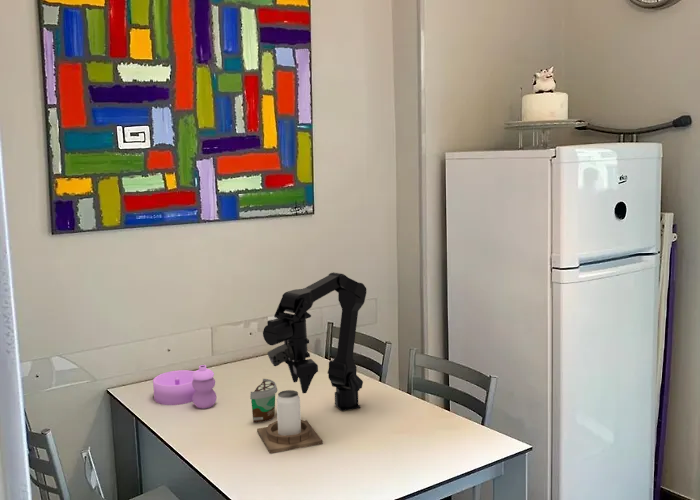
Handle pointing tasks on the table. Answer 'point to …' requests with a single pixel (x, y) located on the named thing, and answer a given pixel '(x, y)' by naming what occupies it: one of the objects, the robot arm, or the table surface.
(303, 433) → the brown ring stand base
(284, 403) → the can
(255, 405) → the food container
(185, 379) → the container set
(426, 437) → the table surface
